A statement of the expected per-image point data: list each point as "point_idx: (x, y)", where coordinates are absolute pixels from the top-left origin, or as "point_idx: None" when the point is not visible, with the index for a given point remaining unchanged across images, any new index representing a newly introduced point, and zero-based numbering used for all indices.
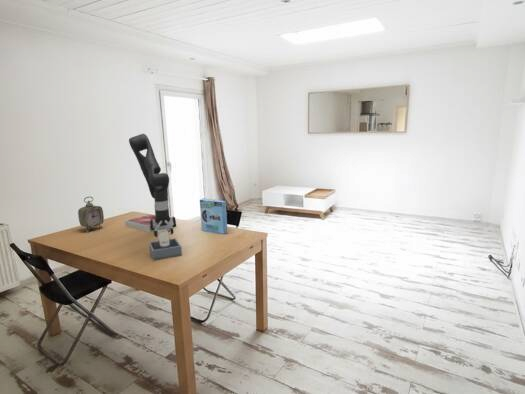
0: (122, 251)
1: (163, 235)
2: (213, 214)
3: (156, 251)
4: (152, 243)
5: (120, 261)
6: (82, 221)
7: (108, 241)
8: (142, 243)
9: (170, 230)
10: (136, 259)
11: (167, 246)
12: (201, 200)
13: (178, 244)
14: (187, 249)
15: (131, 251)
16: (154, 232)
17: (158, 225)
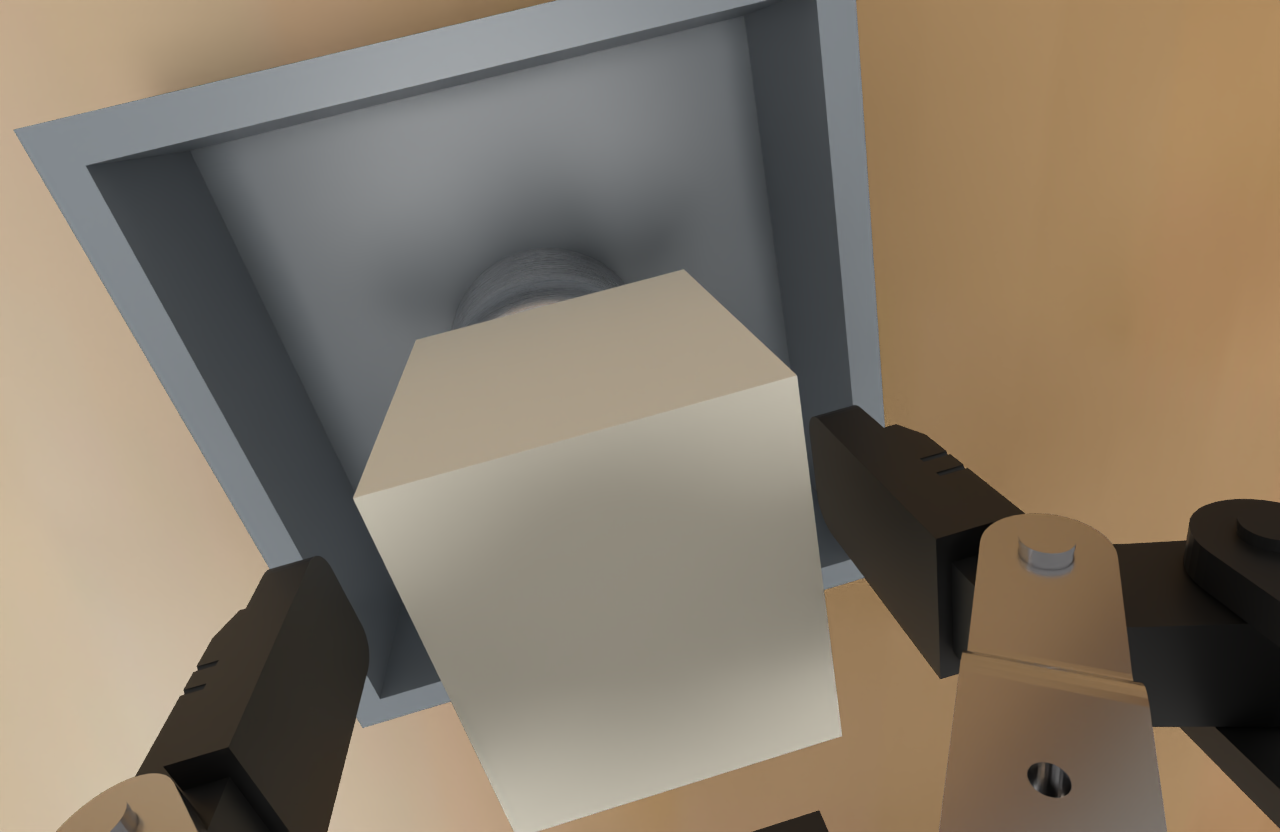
0: (1162, 533)
1: (587, 378)
2: None
3: None
4: (823, 549)
5: (1273, 122)
6: None
7: (1226, 828)
8: (901, 759)
9: (321, 739)
10: (1041, 142)
11: (484, 301)
12: None
13: (161, 306)
14: (123, 442)
15: (1061, 514)
16: (992, 499)
17: (1051, 804)
